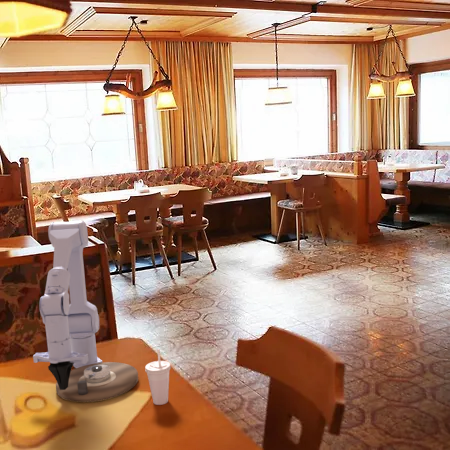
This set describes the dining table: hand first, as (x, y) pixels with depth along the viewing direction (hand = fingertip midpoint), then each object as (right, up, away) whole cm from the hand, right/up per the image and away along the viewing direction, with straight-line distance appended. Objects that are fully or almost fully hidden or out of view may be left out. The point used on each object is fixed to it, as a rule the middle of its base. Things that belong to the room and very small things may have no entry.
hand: (64, 388), depth 154 cm
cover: (+7, +1, +7) cm, 10 cm away
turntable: (+7, -1, +8) cm, 11 cm away
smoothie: (+26, -2, -4) cm, 26 cm away
